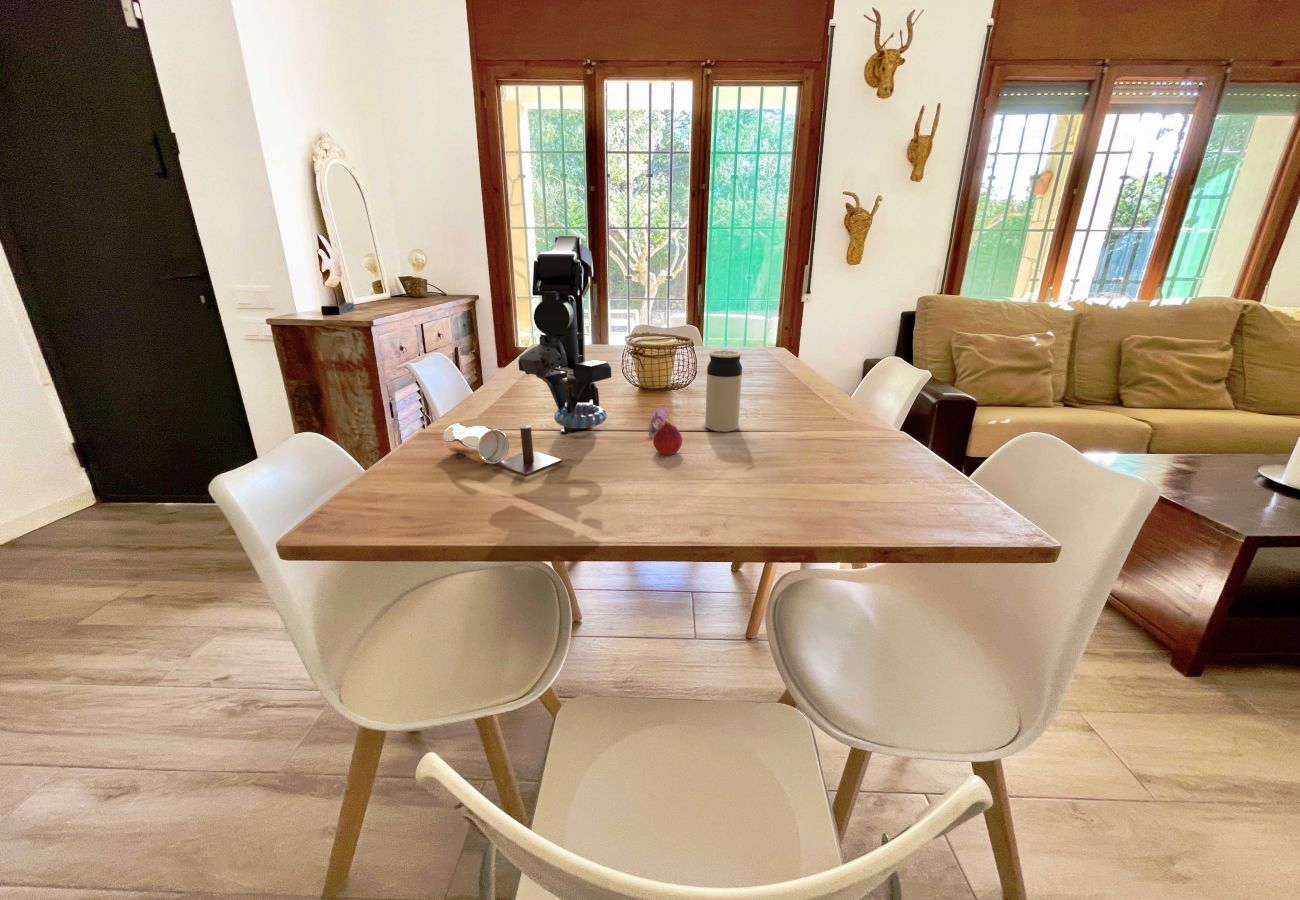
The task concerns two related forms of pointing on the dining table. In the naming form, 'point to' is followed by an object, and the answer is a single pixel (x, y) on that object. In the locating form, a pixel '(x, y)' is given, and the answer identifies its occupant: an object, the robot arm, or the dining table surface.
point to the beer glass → (477, 442)
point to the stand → (528, 457)
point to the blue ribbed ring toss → (580, 416)
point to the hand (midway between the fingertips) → (566, 411)
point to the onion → (667, 439)
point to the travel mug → (723, 390)
